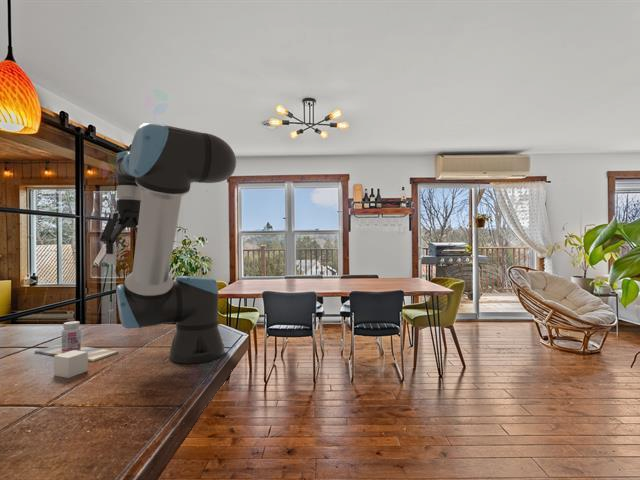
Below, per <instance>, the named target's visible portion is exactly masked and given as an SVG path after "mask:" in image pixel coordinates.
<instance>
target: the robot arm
mask: <svg viewBox="0 0 640 480" xmlns="http://www.w3.org/2000/svg"><path fill="white" fill-rule="evenodd" d="M115 166H116V198H117V200H116V211H117V212H109V213H108V220H107V222H106V224H105V227H104V229H103V231H102V234H101V235H100V238H99V241H100V242H101V243H103V244H104V245H105V253H106V255H107V266H108V265H109V266H110V265H117V243H115V242H116V240H117V239H118V238H119V237H120V235H121V233H122V232H123V231H124V230H125V229H126V228H129V229H133V230H134V231H135V233H136V237H135V247H134V257H133V264H132V272H130V273H128V275H126V277H125V279H124V282H123V283H121V284H118V285H117V286H116V289H115V290H116V291H115V292H116V302H117V310H118V315H119V319H120V323H121V326H122V327H123V328H124V329H128V330H129V329H142V328H146V327H155V326H160V325H167V324H170V325H171V324H175V325H176V326H175V328H176V329H175V334H174V337H173V340H172V342H171V347H170V349H169V360H170V361H172V362H174V363H178V364H188V365H189V364H199V363H207V362H211V361H215V360H217V359H219V358H221V357H223V356H224V354H225V345H224V343H223V339H222V336H221V332H220V330H219V287H218V281H217V280H216V279H214V278H212V277H203V276H192V275H177V276H176V277H175V281H174V280H173V278H172V276H170V275H169V274H170V268H171V265H172V264H171V263H172V256H173V251H174V245H175V237H176V233H177V227H178V220H179V215H180V208H181V202H182V197H183V196H185V195H187V194H188V193H189V192H190V191H191V190H190V189H191V185H192V183H199V184H200V183H203V184H215V183H221V182H223V181H226V180H228V179H229V178H230V177H232V175H233V174H234V172H235V170H236V167H237V158H236V154H235V152H234V150H233V149H232V147H231V145H230V144H228V142H227V141H225V140H223V139H222V138H220V137H219V136H216V135H214V134H211V133H207V132H201V131H200V132H199V131H195V130H190V129H185V128H181V127H177V126H171V125H166V124H164V123H163V124H156V123H151V122H148V123H143V124H141V125H140V126H139V127H138V128H137V130H136V131H135V133H134V135H133V138H132V141H131V145H130V149H129V151H121V152H117V155H116V162H115Z"/></svg>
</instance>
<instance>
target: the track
mask: <svg viewBox="0 0 640 480" xmlns="http://www.w3.org/2000/svg"><path fill="white" fill-rule="evenodd" d="M78 351H84V352H88V362H96V361H99V360H100V361H101V360H102V359H106V358H108V357H110V356H115V355H116V354H119V351H118V350H111V349H106V348H105V349H103V348H97V347H90V346H82V345H81V349H80V350H78ZM38 353H39V355H45V356H46V355H47V356H53V357H54V356H55V355H59V354H62V353H66V352H62V343H60V344H55V345H53V346H49V347H48V346H47V347H45V348H41V349H37V350H34V354H38Z"/></svg>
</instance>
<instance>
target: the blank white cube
mask: <svg viewBox="0 0 640 480" xmlns="http://www.w3.org/2000/svg"><path fill="white" fill-rule="evenodd" d="M88 362H89V361H88V352H84V351H77V350H72V351H69V352H66V353H62V354H59V355H55V356H53V372H54V373H53V376H55V377H61V378H67V379H69V378H72V377H75V376H78V375H80V374H83V373H86V372H88V371H89V370H88V365H89V363H88Z"/></svg>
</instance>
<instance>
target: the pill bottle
mask: <svg viewBox="0 0 640 480" xmlns="http://www.w3.org/2000/svg"><path fill="white" fill-rule="evenodd" d="M80 325H81V324H80V321H78V320H77V321H76V320H74V321H67V322H66V321H65V322H64V323H63V327H62V328H63V329H62V330H61V344H62V352H69V351H72V350H77V351H78V350H80V349H81V346H82V344H81V343H82V332H81V331H82V330H81V329H82V328H81V327H80Z"/></svg>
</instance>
